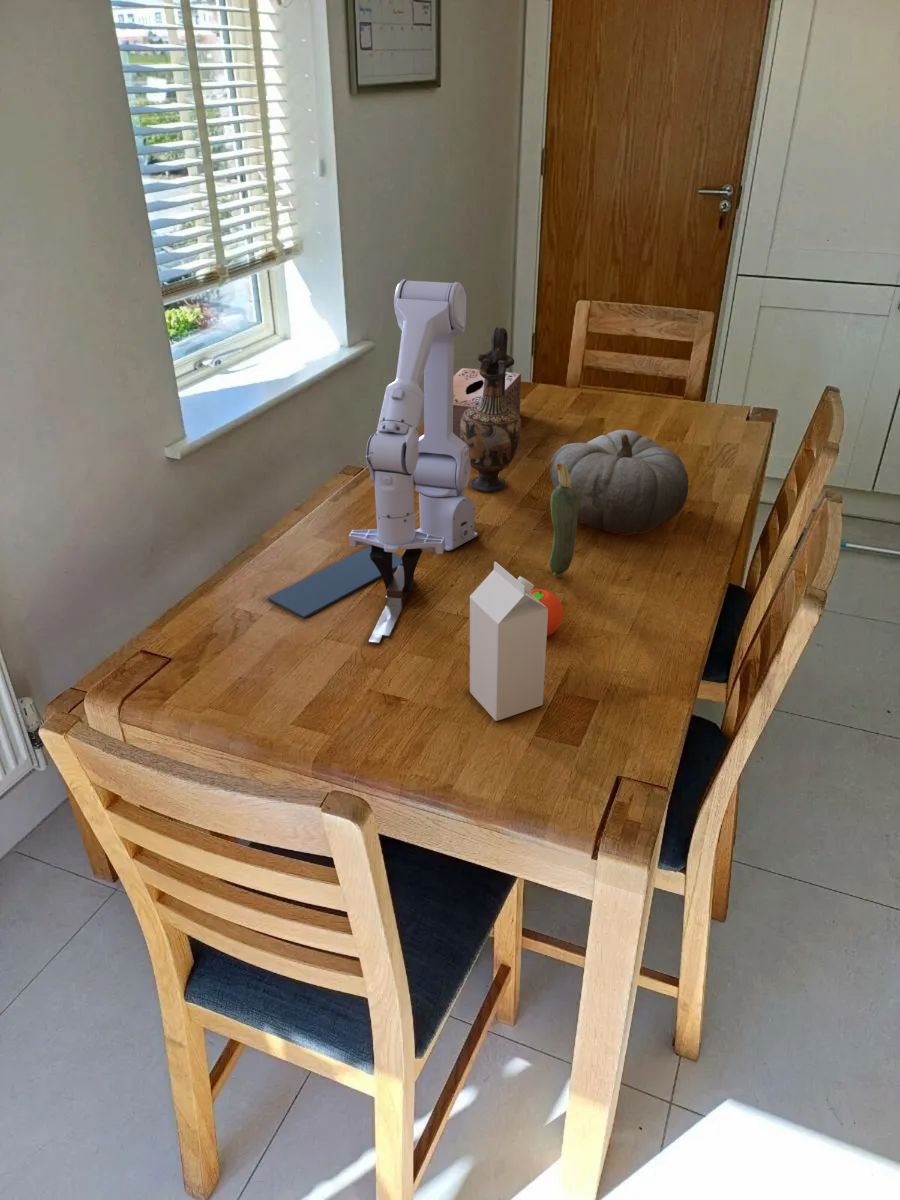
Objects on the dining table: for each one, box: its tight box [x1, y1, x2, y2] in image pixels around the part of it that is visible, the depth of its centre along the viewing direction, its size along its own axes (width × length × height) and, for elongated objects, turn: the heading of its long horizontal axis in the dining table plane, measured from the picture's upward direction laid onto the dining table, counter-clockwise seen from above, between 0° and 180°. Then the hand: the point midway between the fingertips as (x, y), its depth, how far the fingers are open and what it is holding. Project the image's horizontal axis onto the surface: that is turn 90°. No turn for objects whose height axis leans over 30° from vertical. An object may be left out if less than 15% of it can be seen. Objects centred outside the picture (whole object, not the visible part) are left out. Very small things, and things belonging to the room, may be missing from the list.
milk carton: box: [469, 561, 548, 722], centre depth 111 cm, size 7×7×19 cm
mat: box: [267, 546, 403, 619], centre depth 143 cm, size 9×23×1 cm, turn 139°
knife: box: [368, 565, 415, 645], centre depth 134 cm, size 19×3×3 cm, turn 169°
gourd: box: [549, 429, 689, 536], centre depth 157 cm, size 25×25×17 cm
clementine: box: [530, 588, 564, 637], centre depth 127 cm, size 8×7×7 cm
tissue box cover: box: [453, 367, 522, 439], centre depth 199 cm, size 26×14×10 cm, turn 161°
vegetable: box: [549, 463, 578, 578], centre depth 137 cm, size 4×4×20 cm
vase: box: [460, 326, 522, 493], centre depth 167 cm, size 12×12×30 cm
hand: (398, 588), depth 137 cm, fingers closed on knife, 2 cm apart
